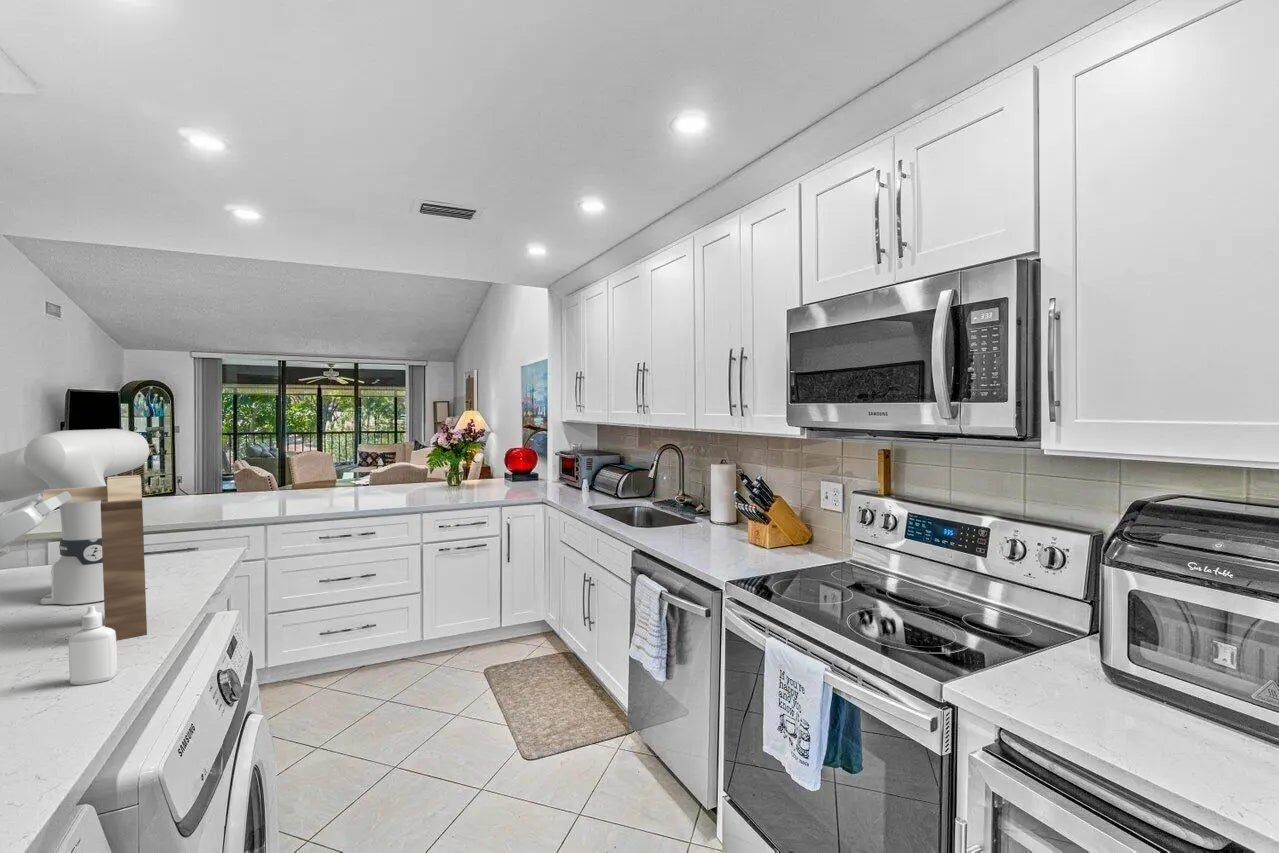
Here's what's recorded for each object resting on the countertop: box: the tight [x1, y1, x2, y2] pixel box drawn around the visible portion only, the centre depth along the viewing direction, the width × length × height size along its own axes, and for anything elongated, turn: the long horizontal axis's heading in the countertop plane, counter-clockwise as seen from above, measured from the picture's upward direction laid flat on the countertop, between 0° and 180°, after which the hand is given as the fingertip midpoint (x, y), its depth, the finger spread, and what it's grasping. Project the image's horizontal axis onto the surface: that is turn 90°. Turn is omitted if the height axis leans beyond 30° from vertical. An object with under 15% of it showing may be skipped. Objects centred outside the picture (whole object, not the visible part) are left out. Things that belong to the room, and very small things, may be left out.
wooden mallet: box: [42, 474, 143, 504], centre depth 117 cm, size 8×14×4 cm, turn 130°
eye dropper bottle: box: [68, 605, 118, 686], centre depth 98 cm, size 4×6×12 cm
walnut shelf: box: [101, 498, 148, 641], centre depth 121 cm, size 14×6×26 cm, turn 40°
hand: (71, 492), depth 115 cm, fingers open, 4 cm apart
